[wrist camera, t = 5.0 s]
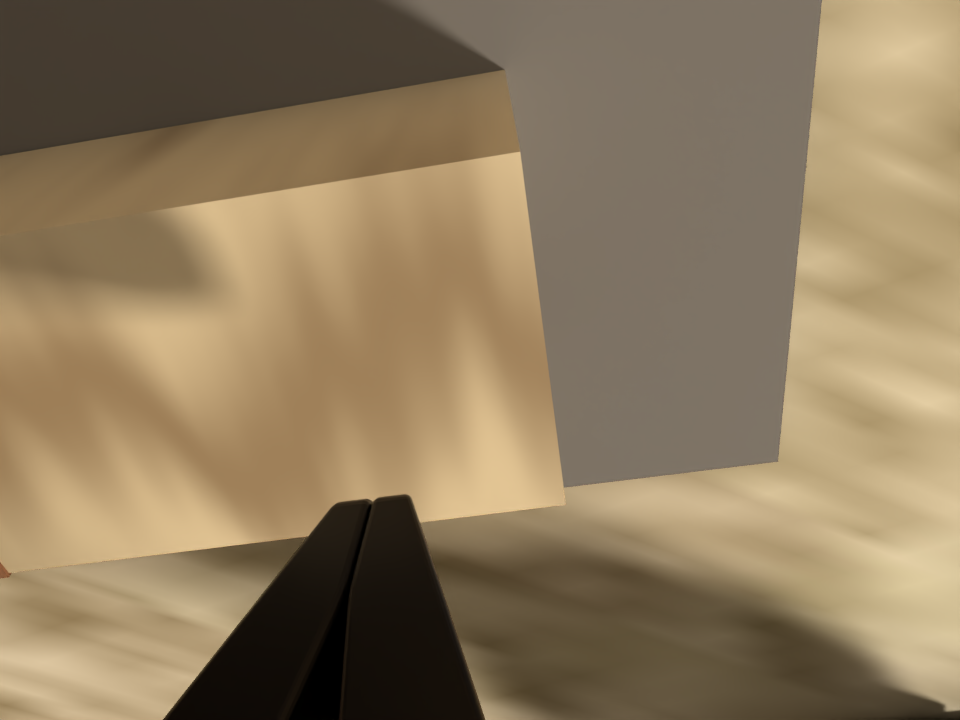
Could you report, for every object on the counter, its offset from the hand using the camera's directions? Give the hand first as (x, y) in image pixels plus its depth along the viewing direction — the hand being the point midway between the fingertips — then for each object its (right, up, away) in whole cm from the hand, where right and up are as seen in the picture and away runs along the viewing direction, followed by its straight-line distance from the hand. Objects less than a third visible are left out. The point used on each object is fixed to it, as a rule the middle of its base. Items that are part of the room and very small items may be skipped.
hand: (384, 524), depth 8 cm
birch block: (+2, +3, +4) cm, 6 cm away
